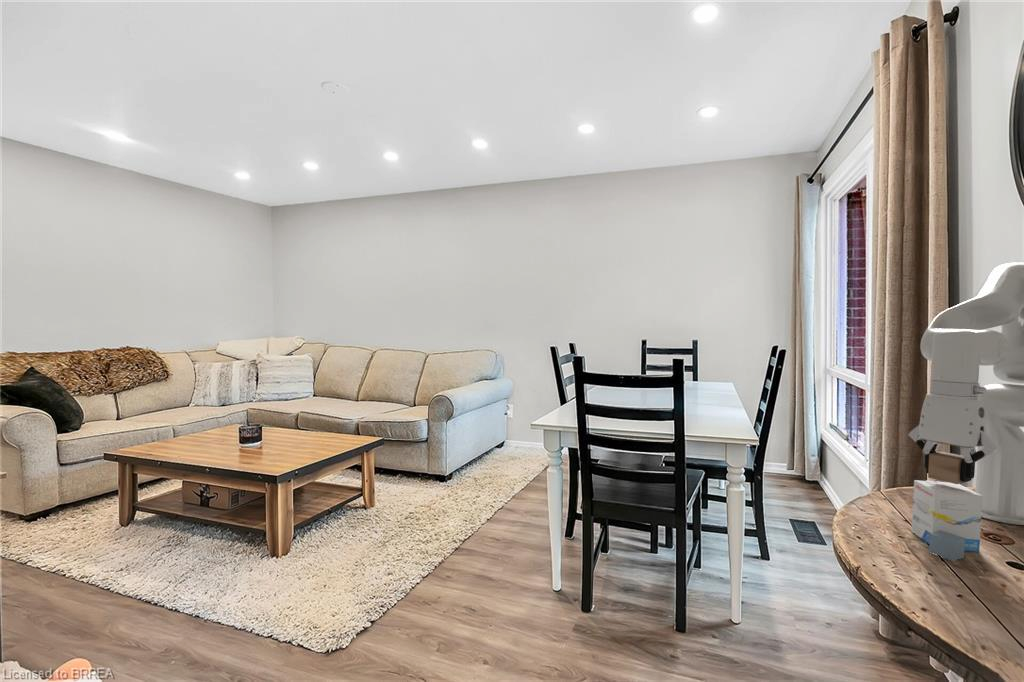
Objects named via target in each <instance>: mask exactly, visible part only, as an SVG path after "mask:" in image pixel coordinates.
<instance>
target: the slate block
mask: <svg viewBox="0 0 1024 682" xmlns="http://www.w3.org/2000/svg"><path fill="white" fill-rule="evenodd" d="M928 545H929V547H928V553H929V552H931V553H934V554H937V555H939V556H942V557H944V558H943V559H945V558H947V559H949V560H948V561H950V560H952V561H951V562H953V561H954V560H956V561H958V560H957V559H959V560H961V559H960V558H962V557H964V558H965V551H964V546H965V538H964V537H960V536H957V535H954V534H951V533H948V532H944V531H941V530H940V531H937V532H933V533H930V544H928ZM939 556H938V557H939ZM942 557H941V558H942ZM947 559H946V560H947ZM962 559H963V558H962ZM954 562H955V561H954Z"/></svg>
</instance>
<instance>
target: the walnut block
mask: <svg viewBox="0 0 1024 682" xmlns="http://www.w3.org/2000/svg"><path fill="white" fill-rule="evenodd" d="M961 462H964V456H963V454H962V455H961V454H956V453H950V452H946V451H936V453H931V454H929V469H928V473H927V474H928V475H927V476H928V477H927V478H929V479H933V480H937V481H940V482H949V483H954V484H960V485H961V484H964V483H965V482H962V481H961V480H960V472H961ZM968 482H969V481H967V482H966V483H968Z"/></svg>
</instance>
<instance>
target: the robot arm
mask: <svg viewBox="0 0 1024 682" xmlns="http://www.w3.org/2000/svg"><path fill="white" fill-rule="evenodd" d="M1000 326H1001V331H996V330H993V329H992V328H997V327H1000ZM919 348H920V349H919V350H920V352H921V355H922V357H923V358H925V359H926V360H927V361H931V364H930V365H931V366H930V385H929V393H926V394H925V398H924V400H923V403H922V408H921V411H920V418H919V423H918V425H917V426H915V428H913V429H912V430H910V432H909V433H908V434H907V435H908V436H909V437H910V438H911V440H913V441H914V442H915V443H916V445H917V446H918V447H919V449H921V451H922V453H923V454H924V455H925V456H924V468H925V469H926V470H925V471H926V474H928V469H929V454H931V453H936V452H937V449H938V447H939V445H940V444H941V445H942V444H943V445H948V446H954V447H958V448H960V450H961V453H962V456H964V462H961V472H960V480H961V481H962V482H964V483H968V482H970V481H972V480H973V479H974V478H975V488H974V489H975V490H974V492H976V493H978V494H980V495H982V496H983V497H982V513H981V518H983V519H986V520H990V521H994V522H999V523H1004V524H1011V525H1016V526H1017V525H1018V526H1024V431H1023V430H1022V428H1024V385H1023V384H1024V261H1019V262H1009V263H1008V262H1007V263H1004V264H999V265H998V266H996V267H995V268H994V269H992V270H991V271H990V273H989V274H988V276H986V278H985V280H984V281H983V283H982V284H981V286H980V287H979V289H978V291H977V292H976V294H975V296H974V297H973V298H971V299H968V300H966V301H963V302H961V303H959V304H957V305H954V306H952V307H950V308H947V309H945V310H944V311H941V312H940V313H938V315H936V316H935V317H934V318H933V319H932V321H931V322H930V323H929V325H928V327H926V329H925V330H924V333H923V335H922V337H921V339H920V347H919ZM980 366H982V367H983V366H986V367H987V366H992V368H993V369H992V371H993V374H994V375H995V377H996V378H998V380H1001V381H1004V382H1008V383H990V384H986V385H984V386H981V385H980V383H979V377H980V376H979V373H980ZM1011 383H1015V384H1011ZM976 448H977V449H976ZM975 467H976V468H975ZM975 470H976V471H975ZM975 473H976V474H975ZM967 481H968V482H967Z"/></svg>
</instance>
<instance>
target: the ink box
mask: <svg viewBox="0 0 1024 682" xmlns="http://www.w3.org/2000/svg"><path fill="white" fill-rule="evenodd" d="M912 497H913V499H912V515H911V516H912V517H911V533H913V534H914V533H915V534H914V535H915V536H917V537H918V538H920V539H921V540H923V541H924V542H925V543H926V544H928V545H929V544H930V533H933V532H937V531H940V530H941V531H944V532H948V533H951V534H954V535H957V536H960V537H964V538H965V546H964V552H965V551H967V552H974V553H975V552H977V553H979V552H980V546H981V545H980V544H981V543H980V542H981V529H982V528H981V527H982V526H981V525H982V517H981V513H982V497H983V496H982V495H980V494H978V493H976V492H975V490H974V491H973V490H972V489H970V488H968V487H966V486H964V485H962V484H961V483H960V484H954V483H949V482H945V481H940V480H937V481H936V480H917V479H915V480H913V496H912Z"/></svg>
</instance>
